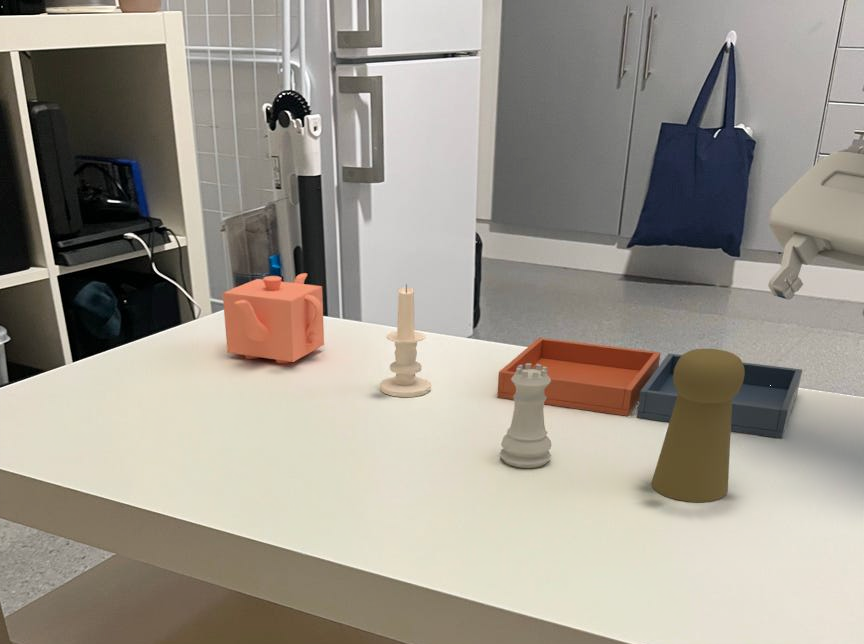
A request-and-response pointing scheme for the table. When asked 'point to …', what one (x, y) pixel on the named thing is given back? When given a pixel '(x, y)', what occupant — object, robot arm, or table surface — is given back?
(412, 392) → the candle
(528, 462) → the rook chess piece
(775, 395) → the slate tray
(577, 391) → the terracotta tray
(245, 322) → the teapot
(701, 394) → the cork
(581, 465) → the table surface
